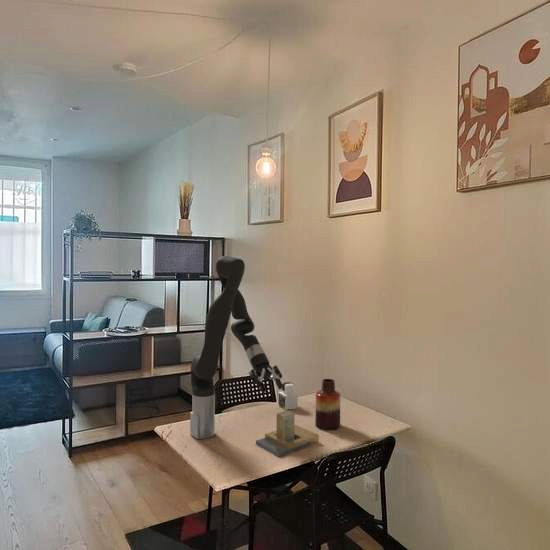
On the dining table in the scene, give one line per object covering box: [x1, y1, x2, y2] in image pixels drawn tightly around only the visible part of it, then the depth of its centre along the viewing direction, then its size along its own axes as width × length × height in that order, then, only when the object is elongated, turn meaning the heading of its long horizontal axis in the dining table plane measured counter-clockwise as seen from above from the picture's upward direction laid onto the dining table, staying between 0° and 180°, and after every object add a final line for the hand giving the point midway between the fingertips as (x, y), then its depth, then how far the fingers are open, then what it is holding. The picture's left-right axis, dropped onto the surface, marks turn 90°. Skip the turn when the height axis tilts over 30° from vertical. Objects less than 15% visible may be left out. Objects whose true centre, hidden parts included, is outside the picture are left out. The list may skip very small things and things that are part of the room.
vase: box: [314, 378, 342, 432], centre depth 195 cm, size 11×11×20 cm
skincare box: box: [276, 410, 295, 442], centre depth 177 cm, size 6×4×12 cm
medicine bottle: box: [278, 381, 299, 411], centre depth 219 cm, size 7×7×12 cm
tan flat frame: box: [255, 424, 320, 458], centre depth 177 cm, size 21×14×3 cm, turn 129°
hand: (273, 389), depth 185 cm, fingers open, 8 cm apart
